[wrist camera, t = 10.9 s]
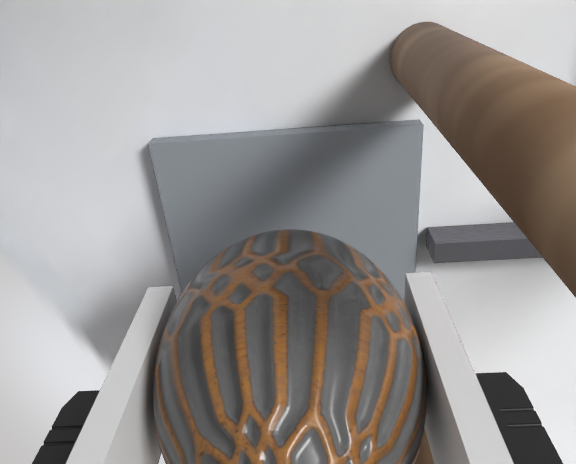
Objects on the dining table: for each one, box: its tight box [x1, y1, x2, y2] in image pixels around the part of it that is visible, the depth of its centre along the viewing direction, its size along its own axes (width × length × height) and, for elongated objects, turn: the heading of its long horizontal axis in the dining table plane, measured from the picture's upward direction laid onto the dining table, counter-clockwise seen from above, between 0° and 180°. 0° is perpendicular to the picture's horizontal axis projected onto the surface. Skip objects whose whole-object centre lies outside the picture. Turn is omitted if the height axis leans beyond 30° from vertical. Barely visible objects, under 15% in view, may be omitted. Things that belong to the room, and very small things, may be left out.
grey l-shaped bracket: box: [426, 223, 542, 263], centre depth 16 cm, size 10×6×1 cm, turn 5°
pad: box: [148, 120, 423, 301], centre depth 18 cm, size 9×9×1 cm
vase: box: [153, 229, 427, 464], centre depth 12 cm, size 7×7×9 cm
